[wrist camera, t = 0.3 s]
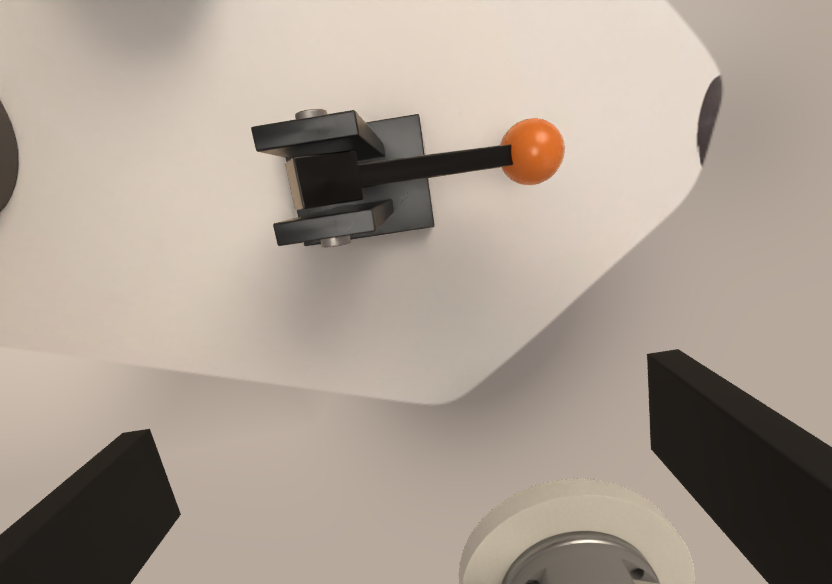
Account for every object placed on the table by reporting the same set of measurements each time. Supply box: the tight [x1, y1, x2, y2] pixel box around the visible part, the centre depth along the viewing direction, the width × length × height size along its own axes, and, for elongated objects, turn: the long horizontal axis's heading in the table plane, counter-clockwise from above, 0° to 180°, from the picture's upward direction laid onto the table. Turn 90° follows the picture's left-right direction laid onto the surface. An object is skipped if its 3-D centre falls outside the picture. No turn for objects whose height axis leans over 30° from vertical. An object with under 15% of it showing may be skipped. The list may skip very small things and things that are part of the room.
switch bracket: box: [251, 109, 434, 247], centre depth 25 cm, size 10×8×15 cm
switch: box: [286, 118, 564, 210], centre depth 22 cm, size 15×4×4 cm, turn 99°
